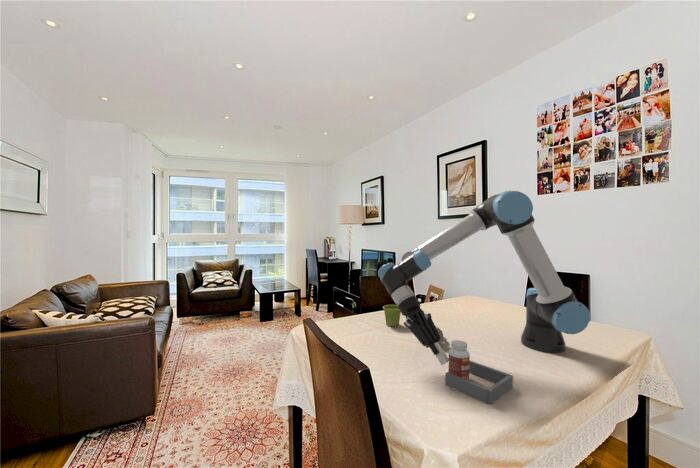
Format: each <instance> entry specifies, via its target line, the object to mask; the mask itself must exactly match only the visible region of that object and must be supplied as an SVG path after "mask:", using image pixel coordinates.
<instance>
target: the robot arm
mask: <svg viewBox="0 0 700 468" xmlns="http://www.w3.org/2000/svg"><path fill="white" fill-rule="evenodd" d="M533 209H534V205H533V203H532V200H531V198H529V196H528V195H527V194H525V193H524V192H522V191H518V190H507V191H503V192H501V193H497V194H494V195H492V196H490V197H488V198H487V199H486V200H484V201H483V202H482V203H480V204H479V205H477V206H476V207H474V208H473V209H471V210H469V211H470V212H469V214H468V215H467V216H465V217H464V218H462V219H461V220H459V221H457V222H455V223H454V224H452V225H450V226H449V227H447V228H445V229H444V230H442V231H441V232H440V233H438V234H435V235H434V236H432V237H431V238H429V239H428V240H426V241H425V242H423V243H421V244H420V245H418V246H417V247H415V248H414V249H412V250H410V251H407V252H405V253H403V255H402V257H401V261H399V263H397V264H395V263H393V262H387V263H386V264H383V265H382V266H380V268H379V269H378V271H377V275H378V278H379V279H380V281H381V283H382V285H383V286H384V287H385V289H386V291H387V292H388V294H389V296H390V297H391V298H392V300H393V302H394V303H395V305H397V306H398V309H399V310H400V312H401V315H402V316H404V317H405V319H406V320H405V321H404V322H403V325H404V327H406V328H407V329H409V330H410V332H411V333H412V334H413V335H414V336H415V337H416V339H417V340H418V342H420V344H421V345H422V346H423V347H425V348H427V349H428V348H430V350H431V352H432V353H433V355H434V356H435V357H436V358H437V360H438V362H439V363H440V365H441V366H443V365H445V364H446V363H449V356H447V353H446V352H445V351H444V348H443V346H442V345H441V343H440V344H439V342H438V341H439V340H440V338H441V337H440V335H439V333H438V331H437V329H436V327H437V326H436V325H435V323H434V321H433V319H432V314H431V313H430V312H429V313H425V311H424V310H423V309H422V308H421V303H420V301H419V299H418V298H417V296H416V295H415V293H414V292H413V290H412V289H411V287H410V286H409V284H408V282H409V281H411V280H412V279H414V278H415V277H417V276H418V275H420V274H421V273H423V272H425V271H426V270H427V269H429V268H430V267H431V266H432V265H433V263H432V261H431V260H434V259H435V258H436V257H438V256H440V255H441V254H443V253H445V252H446V251H448V250H450V249H452V248H453V247H454V246H457V245H458V244H459V243H461V242H462V241H463V242H464V240H466V239H468V238H470V237H471V236H473V235H475V234H477V233H478V232H480V231H486V230H488V229H490V228H492V227H495V226H497V227H498V229H499V232H500V233H501V234H502V235H505V236H507V237H508V239H509V240H510V243H511V244H512V247H513V248H514V251H515V253H516V255H517V256H518V258H519V260H520V262H521V264H522V267H523V268H524V270H525V272H526V274H527V276H528V277H529V279H530V281H531V283H532V285H533V287H529V288H528V289H527V290H526V296H525V298H526V300H525V301H526V304H525V305H526V306H525V307H526V308H525V310H526V313H525V314H526V315H525V317H526V319H525V320H526V321H525V325H524V329H523V331H522V332H521V335H520V342H521V344H522V345H524V346H525V347H527V348H530V349H532V350H537V351H541V352H547V353H563V352H565V351H566V342H565V338H564V335H563V333H564V334H567V335H576V334H579V333H581V332H583V331H584V330H585V329H586V328H587V327H588V325H589V323H590V321H591V313H590V310H589V309H588V307H587V306H585V304H584V303H582V302H580V301H578V299H577V298H576V295H575V294H574V292H573V290H572V289H571V288H570V287H568V286H565V285H564V284H563V282H562V279H561V278H560V276H559V275H558V273H557V270H556V268H555V267H554V265H553V263H552V261H551V258H550V256H549V254H548V253H547V251H546V249H545V247H544V246H543V244H542V242H541V240H540V238H539V236H538V234H537V232H536V230H535V228H534V226H533V225H534V223H535V221H536V219H535V218H534V215H533V211H534V210H533ZM435 326H436V327H435ZM564 350H565V351H564ZM562 351H563V352H562Z"/></svg>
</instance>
